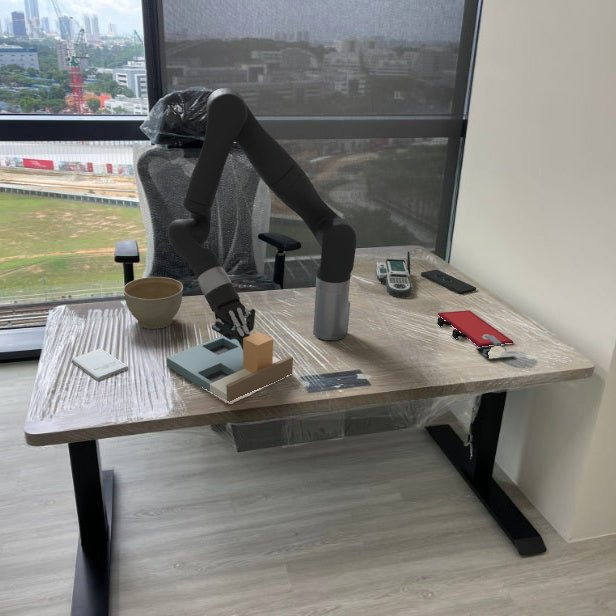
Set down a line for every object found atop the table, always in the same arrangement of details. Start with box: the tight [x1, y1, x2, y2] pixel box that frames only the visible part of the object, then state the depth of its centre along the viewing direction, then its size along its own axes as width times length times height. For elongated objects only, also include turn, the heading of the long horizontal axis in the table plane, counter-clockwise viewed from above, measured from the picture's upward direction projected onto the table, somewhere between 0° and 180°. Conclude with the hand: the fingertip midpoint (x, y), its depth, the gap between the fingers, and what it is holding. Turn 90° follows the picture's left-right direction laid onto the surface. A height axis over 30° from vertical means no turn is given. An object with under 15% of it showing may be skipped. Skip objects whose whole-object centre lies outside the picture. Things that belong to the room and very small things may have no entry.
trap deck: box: [166, 335, 294, 402], centre depth 147 cm, size 20×24×5 cm
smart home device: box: [420, 269, 477, 296], centre depth 211 cm, size 8×2×20 cm
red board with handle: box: [436, 310, 514, 359], centre depth 173 cm, size 30×3×15 cm
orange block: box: [243, 331, 274, 373], centre depth 143 cm, size 5×5×8 cm
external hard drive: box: [71, 348, 129, 381], centre depth 148 cm, size 2×8×12 cm
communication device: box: [375, 251, 414, 298], centre depth 205 cm, size 12×24×9 cm, turn 179°
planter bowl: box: [123, 276, 184, 330], centre depth 169 cm, size 16×16×11 cm
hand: (250, 350), depth 146 cm, fingers closed
